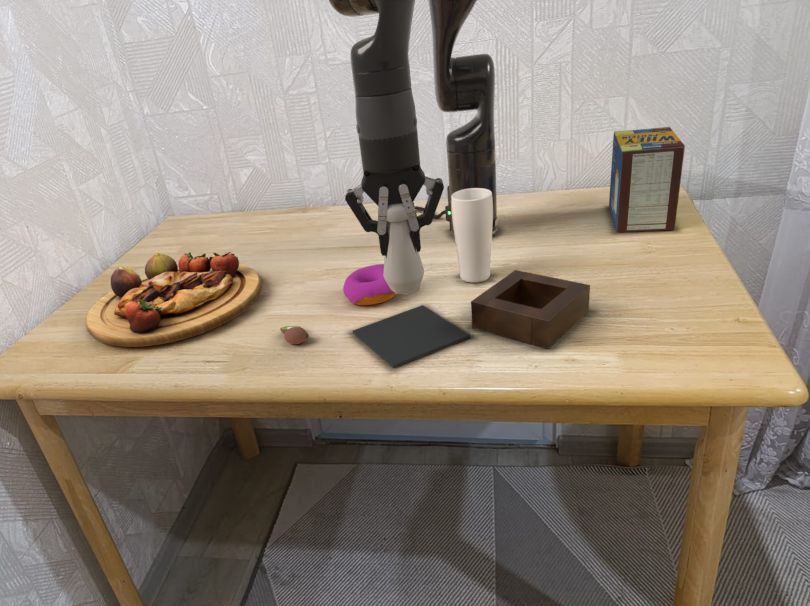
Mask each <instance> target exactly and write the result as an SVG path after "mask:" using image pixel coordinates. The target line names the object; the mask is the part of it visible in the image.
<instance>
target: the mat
mask: <svg viewBox="0 0 810 606" xmlns="http://www.w3.org/2000/svg"><path fill="white" fill-rule="evenodd" d="M352 334H353V335H354V336H355V337H356V338H358V339H359V340H360V341H361V342H362V343H363V344H365V345H366V346H367V347H369V349H371V350H372V351H373V352H374V353H375V354H376V355H378V357H380V359H382V360H383V361H385V362H386V363H387V365H389V366H390V367H392V368H393V369H395V368H398V367H400V366H403V365H405V364H408V363H410V362H413V361H415V360H418V359H420V358H423V357H425V356H428V355H431V354H433V353H435V352H438V351H440V350H443V349H445V348H448V347H450V346H453V345H455V344H458V343H460V342H464V341H466V340H468V339H470V337H471V335H470V334H469V333H467V332H465V331H464V330H463V329H461V328H459V327H457V326H456V325H455V324H454V323H452V322H450V321H449V320H447V319H445V318H444V317H442V316H440V315H439V314H438V313H436V312H434V311H432V310H431V309H430V308H428V307H427V306H425V305H424V304H422V305H419V306H417V307H414V308H411V309H407V310H405V311H403V312H400V313H397V314H394V315H392V316H388V317H386V318H383V319H380V320H378V321H375V322H371V323H370V324H367V325H364V326H362V327H359V328H356V329H354V330H353V329H352Z"/></svg>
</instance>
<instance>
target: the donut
mask: <svg viewBox="0 0 810 606" xmlns="http://www.w3.org/2000/svg"><path fill="white" fill-rule="evenodd" d="M383 275H384V263H378V264H377V263H375V264H372V265H368V266H364V267H361V268H358V269H355V270H354V271H352V272H351V273H350V274H349V275H348V276H347V277H346V279H345V280H344V283H343V286H342V287H343V288H342V290H343V291H342V292H343V295H344V297H345V298H347V300H349V302H350V303H352V304H354V305H358V306H370V305H377V304H378V305H379V304H382V303H384V302H387V301H389V300H391V299H393V298H394V297H395V296H396V295H397V294H396V293H395V292H393V291H392V290H391V289H390V287H389V285H388V284H387V282H386V281H385V279H384V276H383Z"/></svg>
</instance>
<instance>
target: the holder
mask: <svg viewBox="0 0 810 606" xmlns="http://www.w3.org/2000/svg"><path fill="white" fill-rule="evenodd" d="M590 294H591V284H587V283H583V282H578V281H577V282H576V281H574V280H573V281H572V280H568V279H563V278H557V277H552V276H548V275H542V274H537V273H532V272H527V271H523V270H517V269H515V270H513V271H512V272H510V273H508V274H507V275H506V276H504V277H503V278H502V279H500V280H499V281H498V282H496V283H494V284H493V285H492V286H490V287H489V288H488V289H486V290H484V291H483V292H482V293H481V294H479V295H478V296H477V297H475V298H474V299H472V300H471V301H470V310H471V311H470V312H471V314H470V315H471V328H472V329H474V330H479V331H482V332H486V333H489V334H493V335H496V336H499V337H503V338H506V339H511V340H513V341H518V342H521V343H524V344H528V345H530V346H531V345H532V346H535V347H539V348H542V349H545V350H549V348H551V347H552V346H553V345H554V344H555V343H556V342H558V340H560V339H561V338H562V337H563V336H564V335H565V334H566V333H567V332H568V331H570V330H571V329H572V328H573V327H574V326H575V325H576V324H577V323H578V322H580V321H581V320H582V319H583V318H584V317H585V316H586V315H587V314H588V313H589V311H590V296H591V295H590Z"/></svg>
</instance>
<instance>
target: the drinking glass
mask: <svg viewBox="0 0 810 606" xmlns="http://www.w3.org/2000/svg"><path fill="white" fill-rule="evenodd" d="M451 210H452V222H453V229H454V236H455V237H454V241H455V248H456V249H455V250H456V255H457V262H458V263H457V264H458V273H459V279H460V280H462V282H465V283H470V284H477V283H483V282H485V281H487V280H489V278H490V276H491V261H492V260H491V257H492V240H493V236H492V227H493V200H492V192H491V191H490V190H488V189H484V188H469V189H463V190H459V191H457V192H455V193H453V194H452V196H451Z"/></svg>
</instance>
